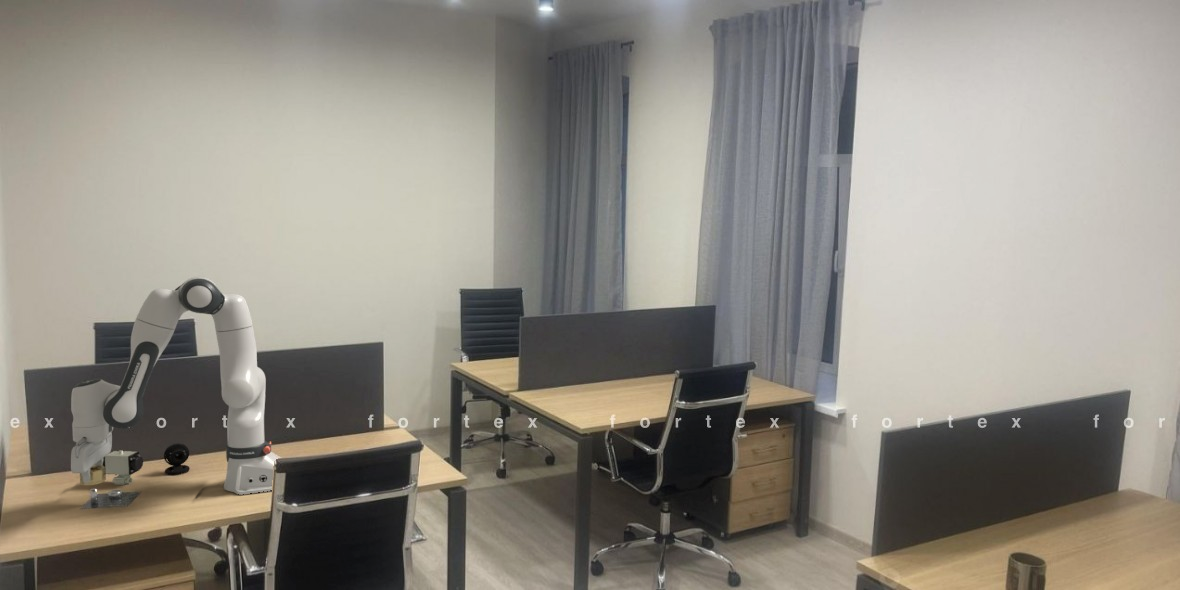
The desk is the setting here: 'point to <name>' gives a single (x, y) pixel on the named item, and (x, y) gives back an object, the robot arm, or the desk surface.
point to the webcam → (176, 459)
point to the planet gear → (95, 475)
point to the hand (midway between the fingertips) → (92, 477)
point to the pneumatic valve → (122, 465)
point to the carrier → (109, 499)
